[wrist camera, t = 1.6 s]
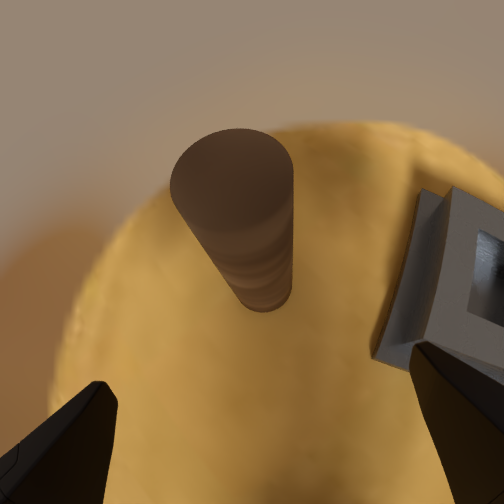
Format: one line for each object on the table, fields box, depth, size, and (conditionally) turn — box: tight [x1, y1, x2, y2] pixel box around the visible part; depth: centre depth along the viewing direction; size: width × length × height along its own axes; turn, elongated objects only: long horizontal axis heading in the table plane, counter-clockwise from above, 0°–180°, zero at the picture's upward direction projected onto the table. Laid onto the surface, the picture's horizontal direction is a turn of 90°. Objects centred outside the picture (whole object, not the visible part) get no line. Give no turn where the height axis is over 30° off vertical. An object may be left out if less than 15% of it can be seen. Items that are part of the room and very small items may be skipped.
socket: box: [371, 186, 504, 385], centre depth 17 cm, size 14×14×4 cm
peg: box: [170, 129, 293, 312], centre depth 15 cm, size 4×4×13 cm
